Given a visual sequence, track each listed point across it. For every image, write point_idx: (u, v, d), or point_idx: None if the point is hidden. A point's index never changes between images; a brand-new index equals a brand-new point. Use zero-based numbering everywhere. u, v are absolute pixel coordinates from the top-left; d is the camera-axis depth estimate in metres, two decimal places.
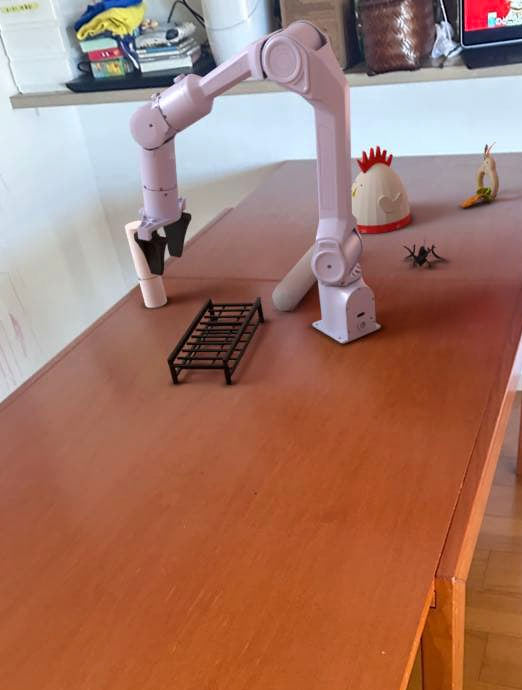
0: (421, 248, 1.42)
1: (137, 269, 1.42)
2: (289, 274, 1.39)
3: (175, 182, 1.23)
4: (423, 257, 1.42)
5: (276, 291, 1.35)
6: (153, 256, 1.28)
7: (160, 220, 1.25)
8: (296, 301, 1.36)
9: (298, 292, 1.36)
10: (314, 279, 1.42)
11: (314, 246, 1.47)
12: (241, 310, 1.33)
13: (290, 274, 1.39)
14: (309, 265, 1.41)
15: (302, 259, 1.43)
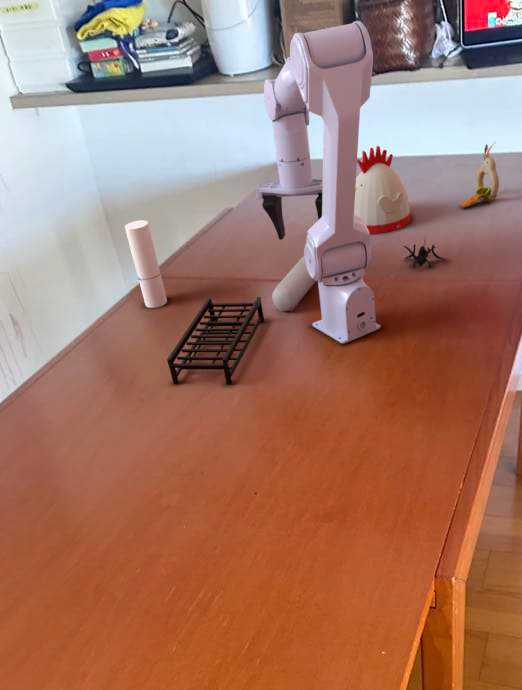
0: (421, 248, 1.42)
1: (137, 269, 1.42)
2: (289, 274, 1.39)
3: (298, 156, 1.28)
4: (423, 257, 1.42)
5: (276, 291, 1.35)
6: None
7: (279, 188, 1.33)
8: (296, 301, 1.36)
9: (298, 292, 1.36)
10: None
11: None
12: (241, 310, 1.33)
13: (290, 274, 1.39)
14: None
15: (302, 259, 1.43)
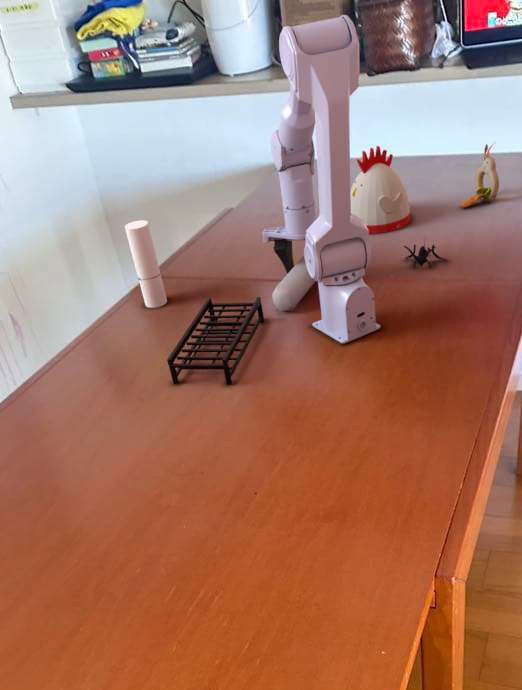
0: (421, 248, 1.42)
1: (137, 269, 1.42)
2: (289, 274, 1.39)
3: (303, 204, 1.33)
4: (423, 257, 1.42)
5: (276, 291, 1.35)
6: None
7: (285, 233, 1.38)
8: (296, 301, 1.36)
9: (298, 292, 1.36)
10: None
11: None
12: (241, 310, 1.33)
13: (290, 274, 1.39)
14: None
15: (302, 259, 1.43)
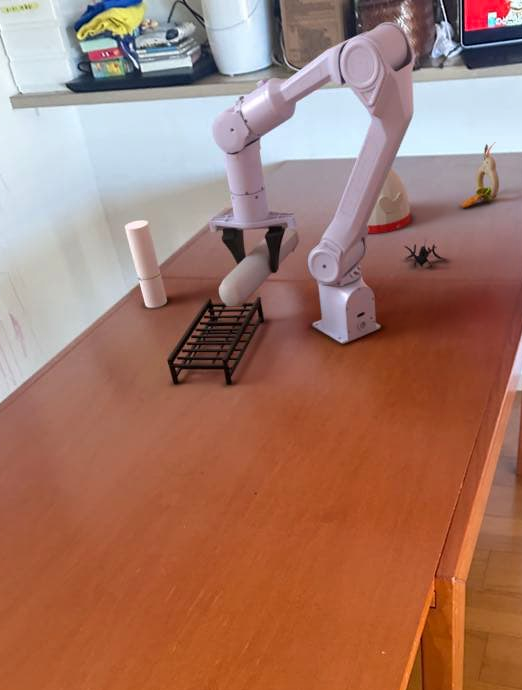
0: (422, 248, 1.42)
1: (137, 269, 1.42)
2: (238, 266, 1.26)
3: (261, 185, 1.21)
4: (424, 257, 1.42)
5: (223, 285, 1.23)
6: None
7: (233, 221, 1.26)
8: (245, 296, 1.24)
9: (247, 286, 1.24)
10: (267, 272, 1.30)
11: None
12: (241, 310, 1.33)
13: (239, 266, 1.26)
14: (261, 257, 1.29)
15: (254, 250, 1.31)
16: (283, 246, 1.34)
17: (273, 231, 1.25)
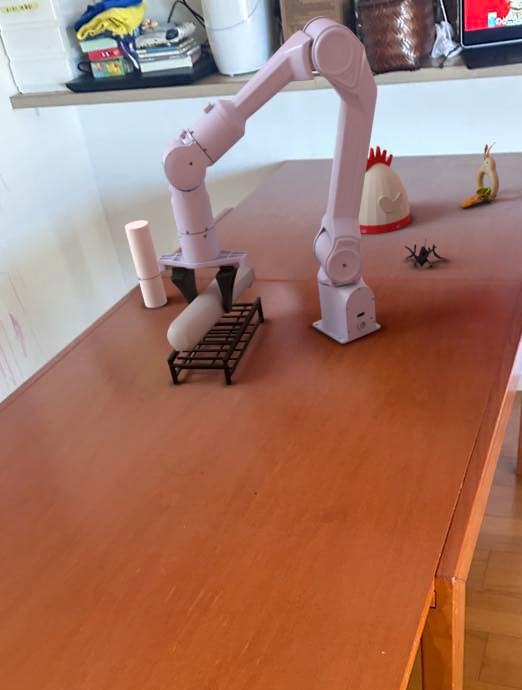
0: (422, 248, 1.42)
1: (137, 269, 1.42)
2: (188, 308, 1.19)
3: (213, 219, 1.16)
4: (424, 257, 1.42)
5: (171, 329, 1.16)
6: None
7: (183, 260, 1.19)
8: (195, 340, 1.17)
9: (197, 330, 1.17)
10: (220, 313, 1.23)
11: None
12: (241, 310, 1.33)
13: (189, 308, 1.19)
14: (213, 297, 1.22)
15: (206, 289, 1.23)
16: (238, 284, 1.27)
17: (224, 271, 1.18)
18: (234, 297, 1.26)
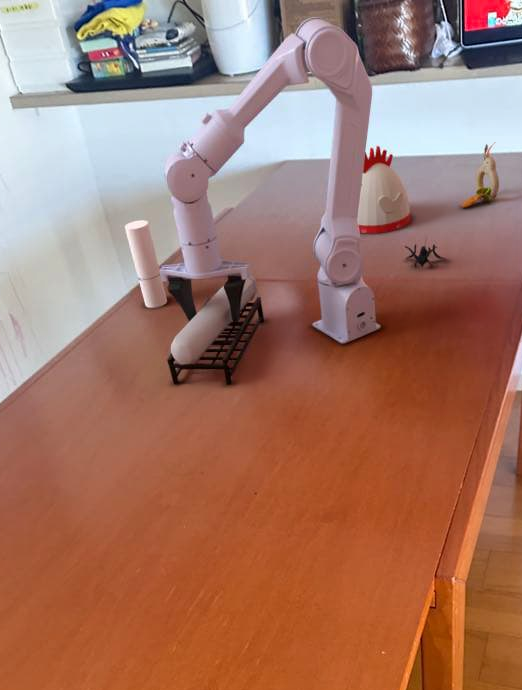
0: (422, 248, 1.42)
1: (137, 269, 1.42)
2: (191, 322, 1.21)
3: (215, 230, 1.17)
4: (424, 257, 1.42)
5: (174, 343, 1.17)
6: None
7: (185, 270, 1.20)
8: (198, 353, 1.18)
9: (200, 343, 1.18)
10: (222, 326, 1.24)
11: None
12: (241, 310, 1.33)
13: (192, 322, 1.21)
14: (216, 310, 1.24)
15: (209, 303, 1.25)
16: None
17: (233, 281, 1.19)
18: None
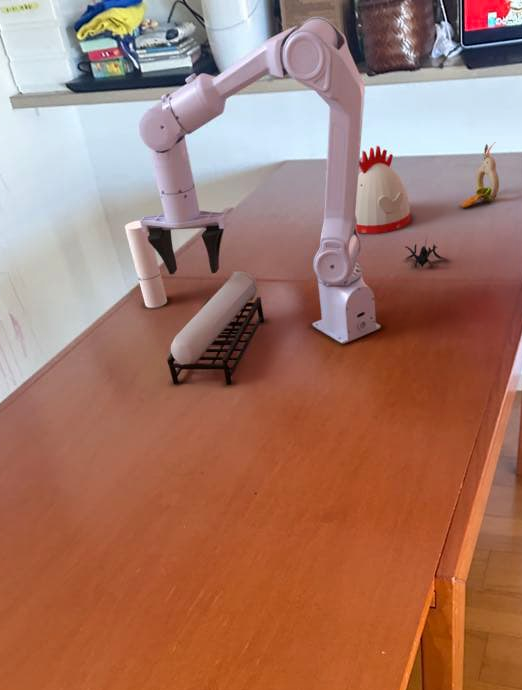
0: (423, 248, 1.42)
1: (137, 269, 1.42)
2: (191, 322, 1.21)
3: (192, 182, 1.20)
4: (425, 257, 1.42)
5: (174, 343, 1.17)
6: None
7: (164, 220, 1.24)
8: (198, 353, 1.18)
9: (200, 343, 1.18)
10: (222, 326, 1.24)
11: (225, 287, 1.29)
12: (241, 310, 1.33)
13: (192, 322, 1.21)
14: (216, 310, 1.24)
15: (209, 303, 1.25)
16: (240, 297, 1.28)
17: (210, 230, 1.23)
18: (236, 310, 1.28)
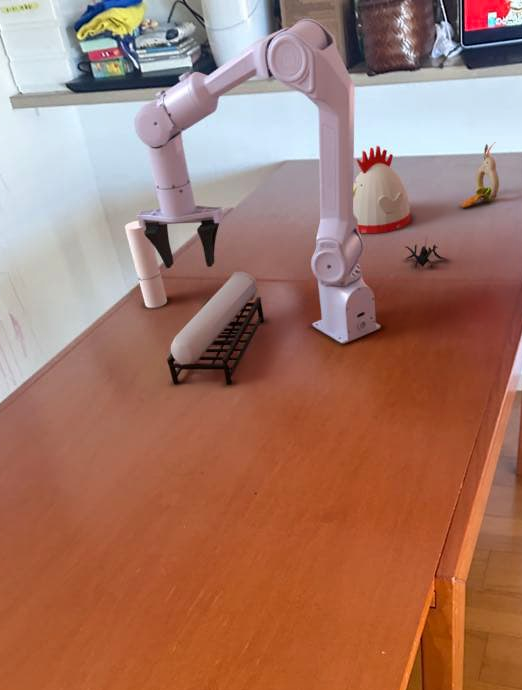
0: (423, 248, 1.42)
1: (137, 269, 1.42)
2: (191, 322, 1.21)
3: (187, 178, 1.22)
4: (425, 257, 1.42)
5: (174, 343, 1.17)
6: None
7: (161, 215, 1.26)
8: (198, 353, 1.18)
9: (200, 343, 1.18)
10: (222, 326, 1.24)
11: (225, 287, 1.29)
12: (241, 310, 1.33)
13: (192, 322, 1.21)
14: (216, 310, 1.24)
15: (209, 303, 1.25)
16: (240, 297, 1.28)
17: (206, 225, 1.26)
18: (236, 310, 1.28)
